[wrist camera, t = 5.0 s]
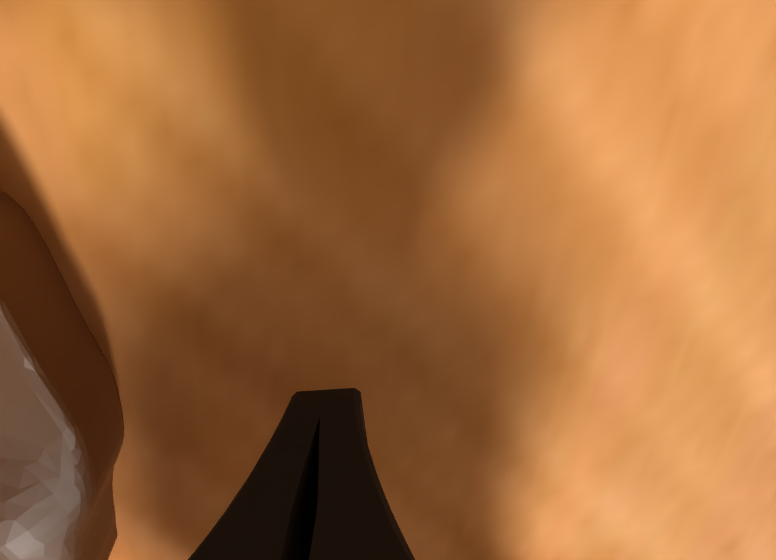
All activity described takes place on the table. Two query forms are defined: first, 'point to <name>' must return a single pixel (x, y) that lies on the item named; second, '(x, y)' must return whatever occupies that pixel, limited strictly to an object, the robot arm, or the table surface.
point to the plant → (51, 410)
